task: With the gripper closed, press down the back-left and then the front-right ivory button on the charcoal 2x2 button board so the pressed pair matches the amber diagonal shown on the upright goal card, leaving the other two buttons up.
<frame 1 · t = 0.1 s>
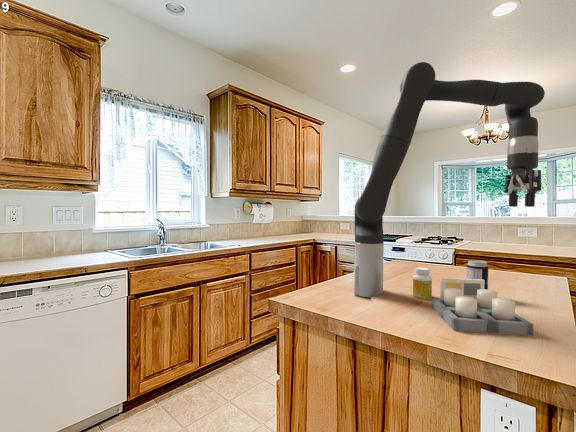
hand: (521, 206, 93), 29 cm above the counter, fingers open, 8 cm apart
button back right: (486, 299, 79), point 5 cm above the counter, slide at 0.0 cm
supplement bottle: (421, 300, 96), on the counter
button board: (476, 323, 76), on the counter
button back left: (453, 297, 80), point 5 cm above the counter, slide at 0.0 cm
button front left: (466, 307, 72), point 5 cm above the counter, slide at 0.0 cm
beverage can: (476, 300, 96), on the counter
button front right: (503, 309, 71), point 5 cm above the counter, slide at 0.0 cm
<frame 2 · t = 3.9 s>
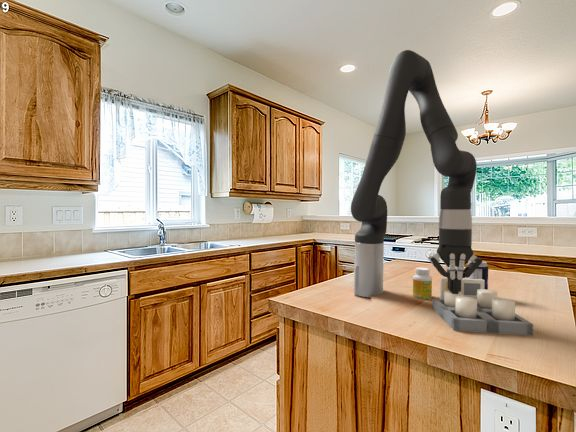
hand: (454, 292, 80), 6 cm above the counter, fingers closed
button back left: (453, 300, 80), point 4 cm above the counter, slide at -0.8 cm, touching gripper
everything else where it was.
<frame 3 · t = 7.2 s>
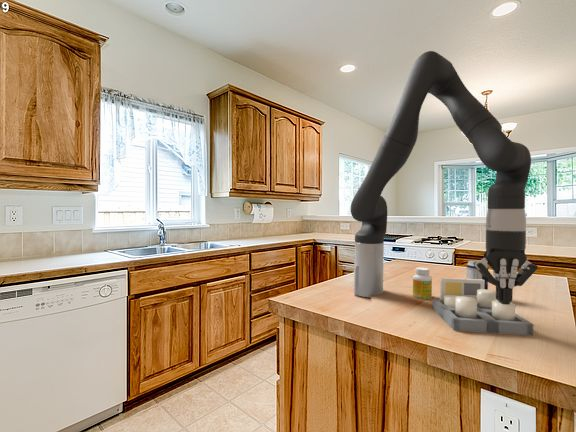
hand: (504, 303, 71), 7 cm above the counter, fingers closed
button back left: (453, 304, 80), point 3 cm above the counter, slide at -2.0 cm
button front right: (503, 311, 71), point 5 cm above the counter, slide at -0.6 cm, touching gripper
everything else where it was.
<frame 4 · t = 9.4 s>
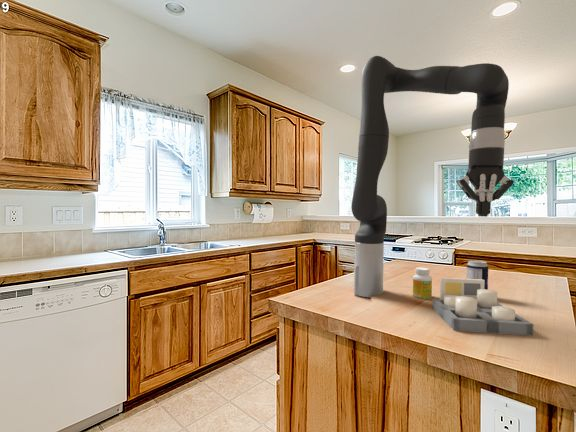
hand: (482, 216, 78), 27 cm above the counter, fingers closed
button front right: (503, 317, 71), point 3 cm above the counter, slide at -1.9 cm
everything else where it was.
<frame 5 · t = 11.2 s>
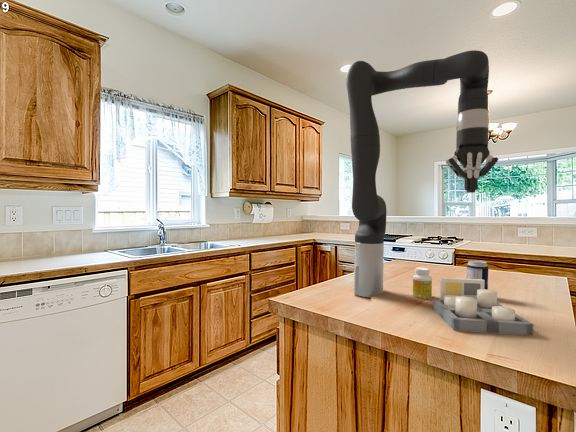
hand: (470, 192, 84), 33 cm above the counter, fingers closed
nothing on the counter moved.
at the end: button back left slide at -2.0 cm; button front right slide at -1.9 cm; button back right slide at 0.0 cm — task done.
